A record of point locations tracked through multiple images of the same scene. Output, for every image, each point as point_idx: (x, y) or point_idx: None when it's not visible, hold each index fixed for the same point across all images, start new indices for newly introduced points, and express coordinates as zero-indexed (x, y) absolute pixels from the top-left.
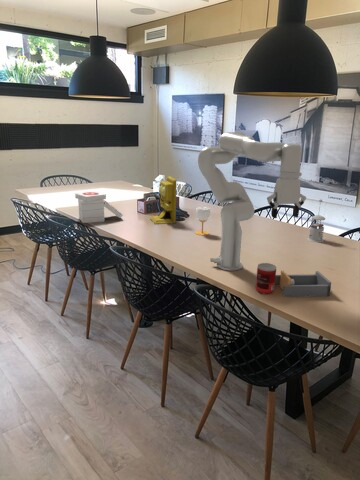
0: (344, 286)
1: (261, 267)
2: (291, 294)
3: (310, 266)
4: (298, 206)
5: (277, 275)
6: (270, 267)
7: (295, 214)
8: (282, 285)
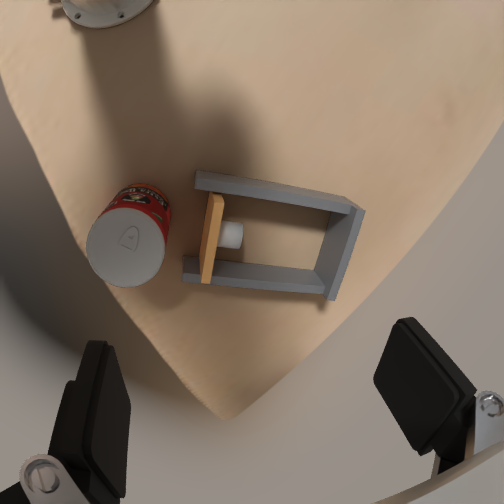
0: (399, 231)
1: (100, 250)
2: None
3: (413, 67)
4: (438, 463)
5: (204, 185)
6: (138, 256)
7: (390, 383)
8: (206, 216)
